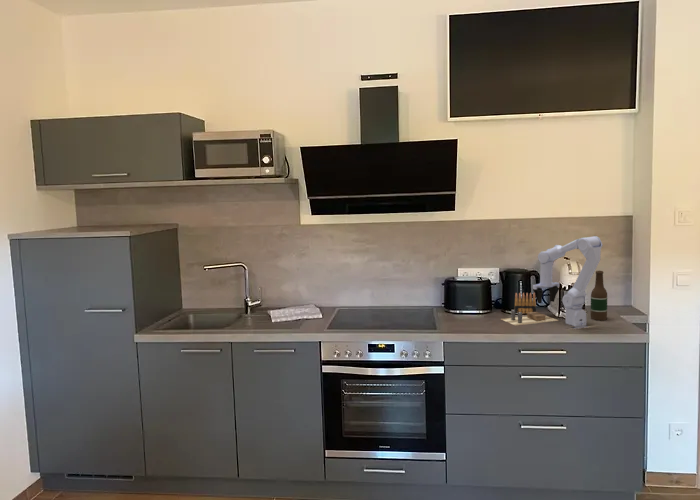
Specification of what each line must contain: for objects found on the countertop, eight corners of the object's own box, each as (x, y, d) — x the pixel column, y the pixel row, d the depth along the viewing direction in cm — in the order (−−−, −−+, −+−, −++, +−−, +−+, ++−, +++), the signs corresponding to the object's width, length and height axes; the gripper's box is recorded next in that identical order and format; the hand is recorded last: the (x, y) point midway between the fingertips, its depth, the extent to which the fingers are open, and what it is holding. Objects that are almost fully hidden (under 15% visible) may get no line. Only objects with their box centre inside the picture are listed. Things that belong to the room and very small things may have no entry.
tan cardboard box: (545, 320, 287) (545, 315, 287) (536, 321, 286) (536, 316, 285) (536, 316, 295) (536, 311, 294) (527, 317, 293) (527, 312, 293)
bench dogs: (522, 325, 284) (522, 312, 283) (519, 325, 283) (519, 313, 283) (513, 321, 291) (513, 309, 291) (510, 321, 291) (510, 309, 290)
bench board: (559, 322, 286) (559, 320, 286) (515, 327, 279) (515, 325, 279) (542, 316, 299) (542, 314, 299) (500, 321, 293) (500, 319, 293)
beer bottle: (601, 321, 285) (602, 272, 282) (587, 318, 292) (587, 271, 289) (610, 318, 290) (611, 270, 287) (595, 316, 296) (596, 269, 293)
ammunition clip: (535, 315, 303) (535, 292, 302) (536, 315, 301) (536, 292, 300) (514, 314, 305) (514, 292, 304) (514, 315, 303) (514, 292, 302)
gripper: (552, 272, 297) (552, 299, 298) (528, 275, 292) (528, 302, 294) (562, 274, 290) (561, 301, 292) (538, 277, 285) (537, 304, 287)
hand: (545, 302), depth 292 cm, fingers open, 7 cm apart
